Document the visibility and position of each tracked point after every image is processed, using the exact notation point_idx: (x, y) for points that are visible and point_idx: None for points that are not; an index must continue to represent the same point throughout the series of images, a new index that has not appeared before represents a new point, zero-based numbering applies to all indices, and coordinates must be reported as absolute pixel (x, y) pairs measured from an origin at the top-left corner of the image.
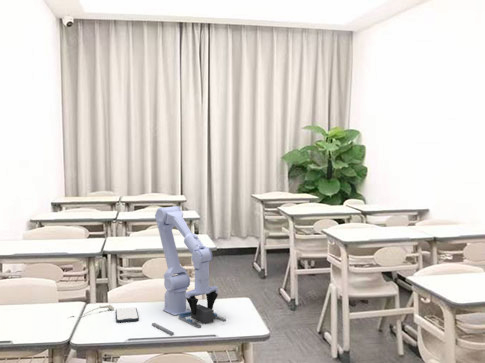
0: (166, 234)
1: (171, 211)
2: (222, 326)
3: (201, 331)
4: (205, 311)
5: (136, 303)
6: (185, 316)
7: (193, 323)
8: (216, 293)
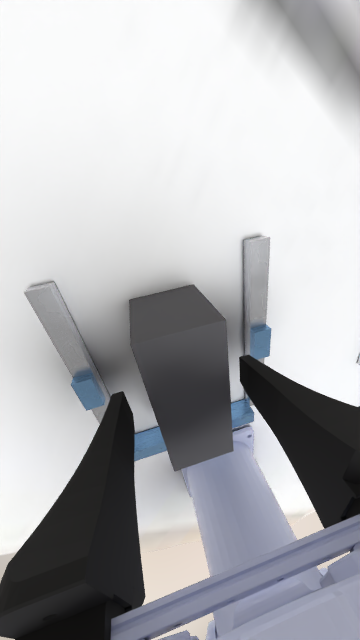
0: None
1: None
2: (96, 176)
3: (281, 162)
4: (215, 333)
5: None
6: None
7: (263, 297)
8: (8, 626)
